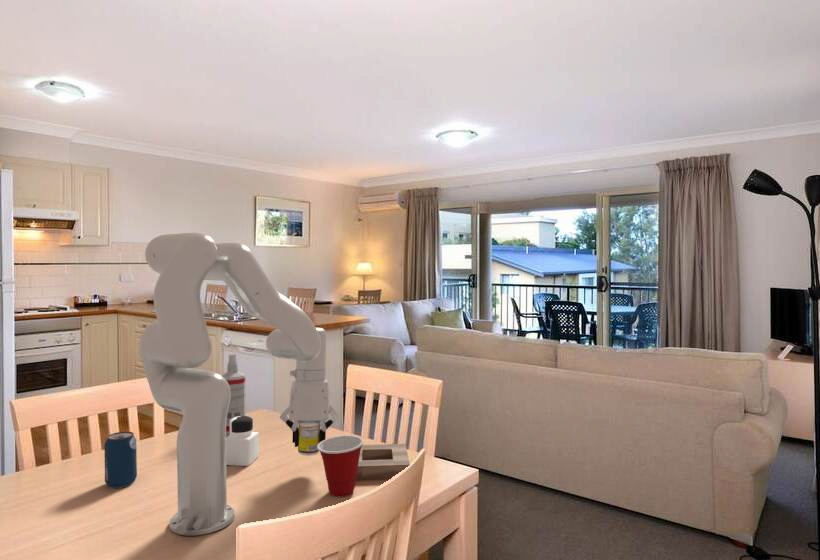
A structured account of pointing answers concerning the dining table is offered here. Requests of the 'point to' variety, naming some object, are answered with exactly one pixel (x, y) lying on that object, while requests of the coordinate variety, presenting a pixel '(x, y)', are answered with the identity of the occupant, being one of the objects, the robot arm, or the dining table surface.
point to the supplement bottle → (308, 437)
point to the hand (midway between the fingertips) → (309, 444)
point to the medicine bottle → (242, 442)
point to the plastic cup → (341, 463)
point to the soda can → (120, 459)
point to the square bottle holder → (381, 461)
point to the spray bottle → (235, 391)
